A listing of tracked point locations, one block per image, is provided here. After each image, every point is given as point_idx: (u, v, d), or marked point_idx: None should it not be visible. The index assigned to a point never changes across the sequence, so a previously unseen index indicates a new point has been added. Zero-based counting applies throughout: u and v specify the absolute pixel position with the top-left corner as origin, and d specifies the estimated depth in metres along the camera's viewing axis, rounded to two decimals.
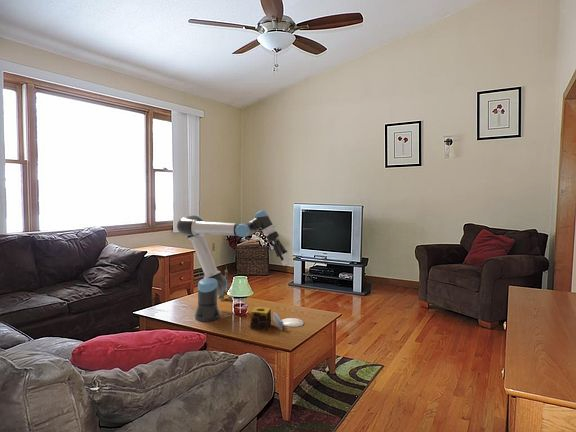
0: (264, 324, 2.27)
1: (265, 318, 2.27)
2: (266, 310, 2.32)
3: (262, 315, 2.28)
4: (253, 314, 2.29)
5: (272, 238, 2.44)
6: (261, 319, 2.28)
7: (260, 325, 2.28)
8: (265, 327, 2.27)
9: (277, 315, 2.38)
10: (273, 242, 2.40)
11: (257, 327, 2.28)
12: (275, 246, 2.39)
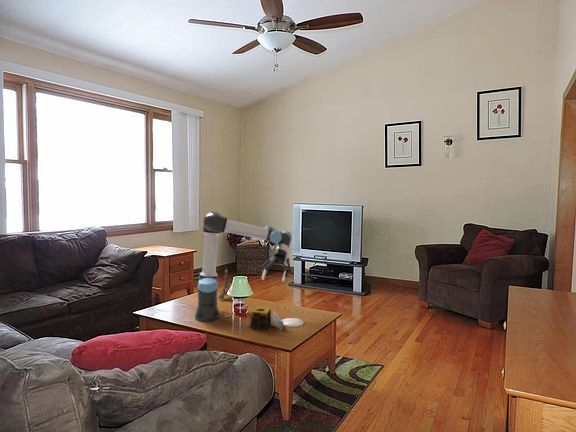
0: (264, 324, 2.27)
1: (265, 318, 2.27)
2: (266, 310, 2.32)
3: (262, 315, 2.28)
4: (253, 314, 2.29)
5: (285, 256, 2.56)
6: (261, 319, 2.28)
7: (260, 325, 2.28)
8: (265, 327, 2.27)
9: (277, 315, 2.38)
10: (289, 260, 2.54)
11: (257, 327, 2.28)
12: (289, 264, 2.52)
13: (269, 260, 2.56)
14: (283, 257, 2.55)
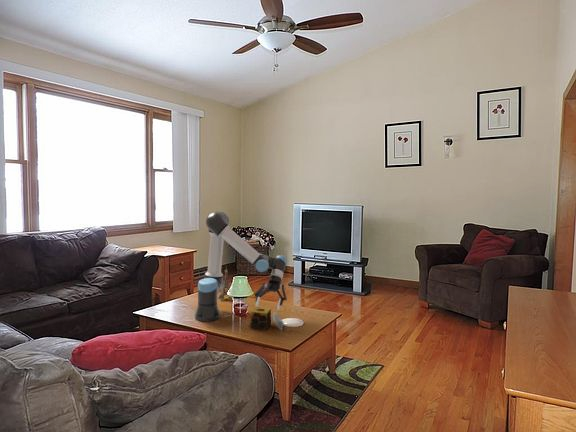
0: (264, 324, 2.27)
1: (265, 318, 2.27)
2: (266, 310, 2.31)
3: (262, 315, 2.27)
4: (253, 314, 2.29)
5: (280, 283, 2.46)
6: (261, 319, 2.28)
7: (260, 325, 2.28)
8: (265, 327, 2.27)
9: (277, 315, 2.38)
10: (284, 287, 2.44)
11: (257, 327, 2.28)
12: (284, 291, 2.42)
13: (263, 287, 2.46)
14: (278, 284, 2.45)
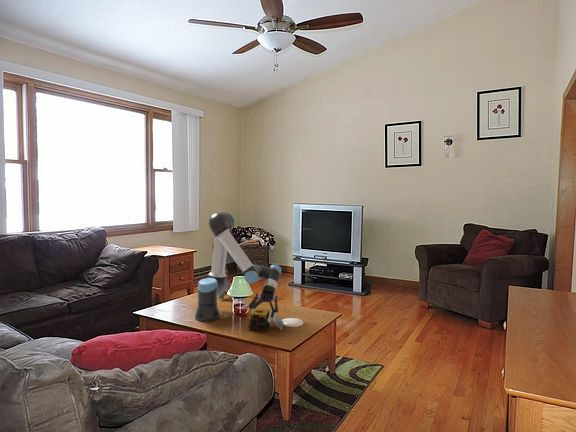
0: (263, 326, 2.24)
1: (264, 320, 2.24)
2: (265, 312, 2.28)
3: (261, 317, 2.24)
4: (251, 316, 2.25)
5: (274, 293, 2.40)
6: (260, 321, 2.25)
7: (259, 327, 2.25)
8: (264, 329, 2.24)
9: (277, 315, 2.38)
10: (277, 298, 2.37)
11: (256, 329, 2.25)
12: (277, 302, 2.36)
13: (257, 297, 2.40)
14: (272, 294, 2.39)
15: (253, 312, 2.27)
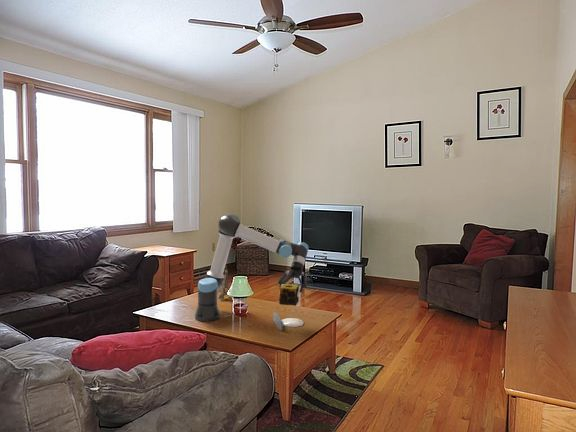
0: (293, 300, 2.29)
1: (294, 294, 2.30)
2: (294, 286, 2.34)
3: (291, 291, 2.30)
4: (282, 290, 2.31)
5: (302, 269, 2.45)
6: (290, 295, 2.30)
7: (289, 301, 2.30)
8: (294, 303, 2.29)
9: (277, 315, 2.38)
10: (305, 274, 2.43)
11: (286, 303, 2.30)
12: (305, 278, 2.41)
13: (285, 273, 2.45)
14: (300, 270, 2.44)
15: (283, 287, 2.33)
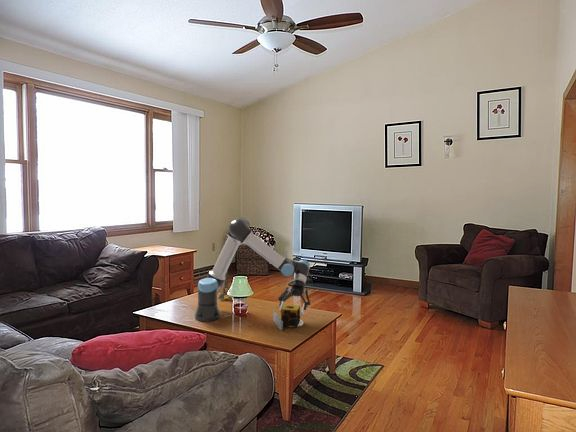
0: (294, 321, 2.31)
1: (295, 315, 2.31)
2: (296, 307, 2.36)
3: (292, 312, 2.32)
4: (283, 311, 2.33)
5: (303, 287, 2.47)
6: (291, 316, 2.32)
7: (290, 322, 2.32)
8: (295, 324, 2.31)
9: (277, 315, 2.38)
10: (307, 292, 2.45)
11: (287, 324, 2.32)
12: None
13: (287, 291, 2.48)
14: (301, 288, 2.46)
15: (284, 308, 2.35)
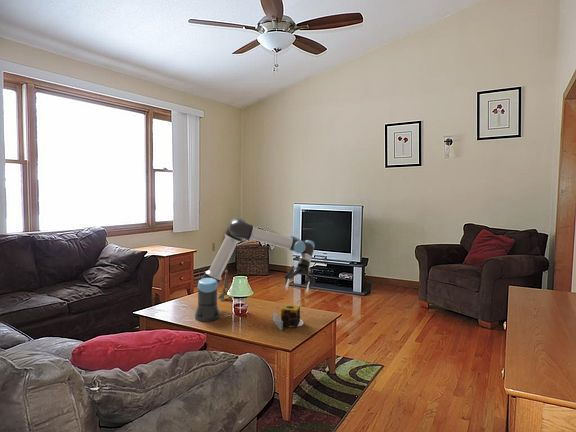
0: (294, 321, 2.31)
1: (295, 315, 2.31)
2: (296, 307, 2.36)
3: (292, 312, 2.32)
4: (283, 311, 2.33)
5: (308, 266, 2.59)
6: (291, 316, 2.32)
7: (290, 322, 2.32)
8: (295, 324, 2.31)
9: (277, 315, 2.38)
10: (312, 270, 2.56)
11: (287, 324, 2.32)
12: None
13: (292, 269, 2.59)
14: (307, 267, 2.57)
15: (284, 308, 2.35)
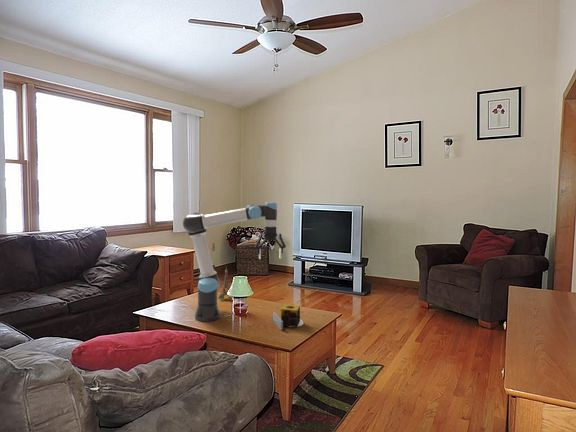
0: (294, 321, 2.31)
1: (295, 315, 2.31)
2: (296, 307, 2.36)
3: (292, 312, 2.32)
4: (283, 311, 2.33)
5: None
6: (291, 316, 2.32)
7: (290, 322, 2.32)
8: (295, 324, 2.31)
9: (277, 315, 2.38)
10: None
11: (287, 324, 2.32)
12: None
13: (261, 237, 2.56)
14: (275, 233, 2.58)
15: (284, 308, 2.35)
